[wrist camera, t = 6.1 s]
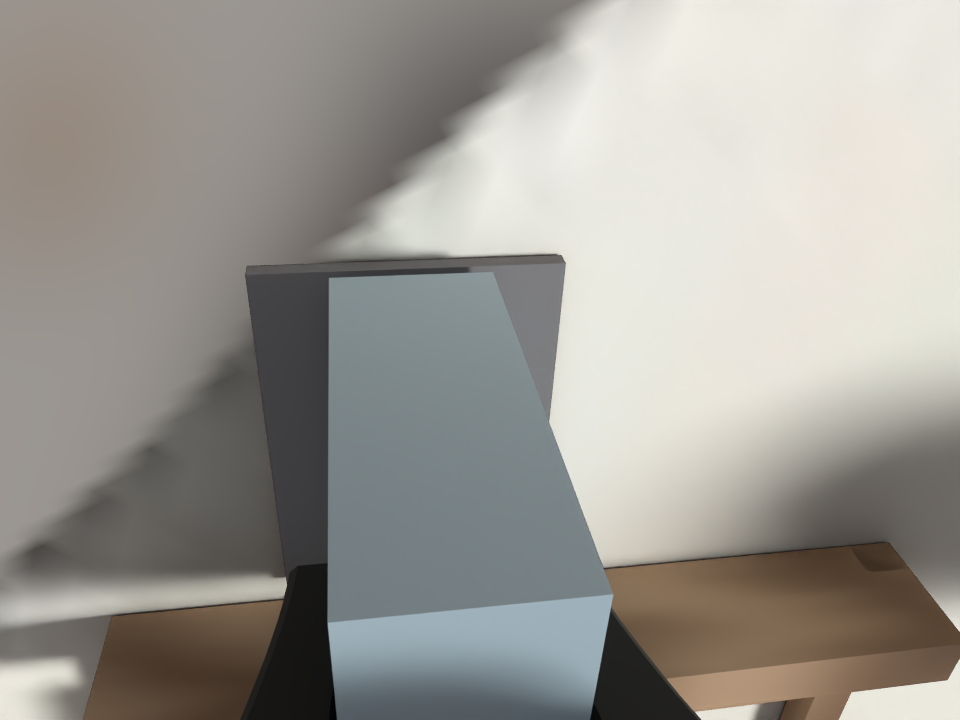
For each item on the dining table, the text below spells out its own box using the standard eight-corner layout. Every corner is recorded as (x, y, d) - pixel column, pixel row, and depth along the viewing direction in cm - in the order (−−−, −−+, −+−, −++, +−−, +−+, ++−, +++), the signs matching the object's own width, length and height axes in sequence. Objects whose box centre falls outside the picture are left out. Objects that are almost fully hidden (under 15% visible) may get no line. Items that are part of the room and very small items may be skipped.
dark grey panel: (288, 579, 16) (287, 590, 16) (247, 266, 12) (245, 274, 12) (530, 556, 17) (533, 567, 17) (561, 255, 13) (565, 263, 13)
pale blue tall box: (351, 595, 16) (362, 977, 11) (328, 278, 12) (326, 623, 7) (477, 584, 16) (547, 946, 11) (492, 271, 12) (613, 594, 7)
